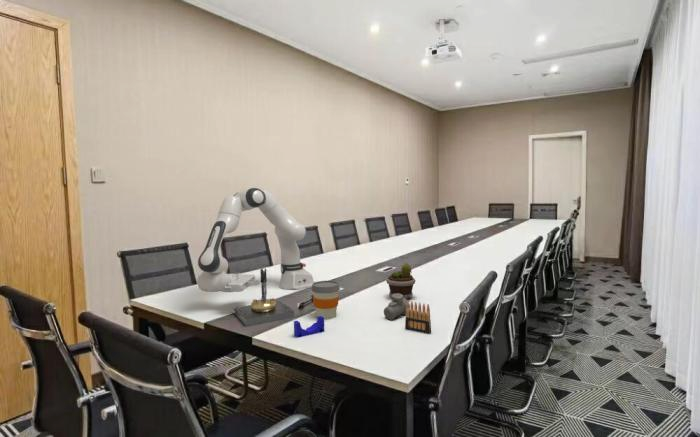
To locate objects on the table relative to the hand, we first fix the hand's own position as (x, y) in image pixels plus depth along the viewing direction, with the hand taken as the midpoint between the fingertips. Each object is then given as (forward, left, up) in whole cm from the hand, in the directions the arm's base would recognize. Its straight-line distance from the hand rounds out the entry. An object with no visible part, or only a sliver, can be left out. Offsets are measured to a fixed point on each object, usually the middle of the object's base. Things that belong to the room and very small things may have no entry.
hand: (258, 282), depth 190 cm
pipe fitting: (-49, +45, -13) cm, 68 cm away
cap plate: (+1, +11, -13) cm, 17 cm away
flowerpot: (-69, +23, -13) cm, 74 cm away
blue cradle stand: (-7, +42, -13) cm, 45 cm away
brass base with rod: (0, +8, -10) cm, 13 cm away
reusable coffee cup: (-23, +27, -13) cm, 38 cm away
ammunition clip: (-46, +64, -13) cm, 80 cm away
